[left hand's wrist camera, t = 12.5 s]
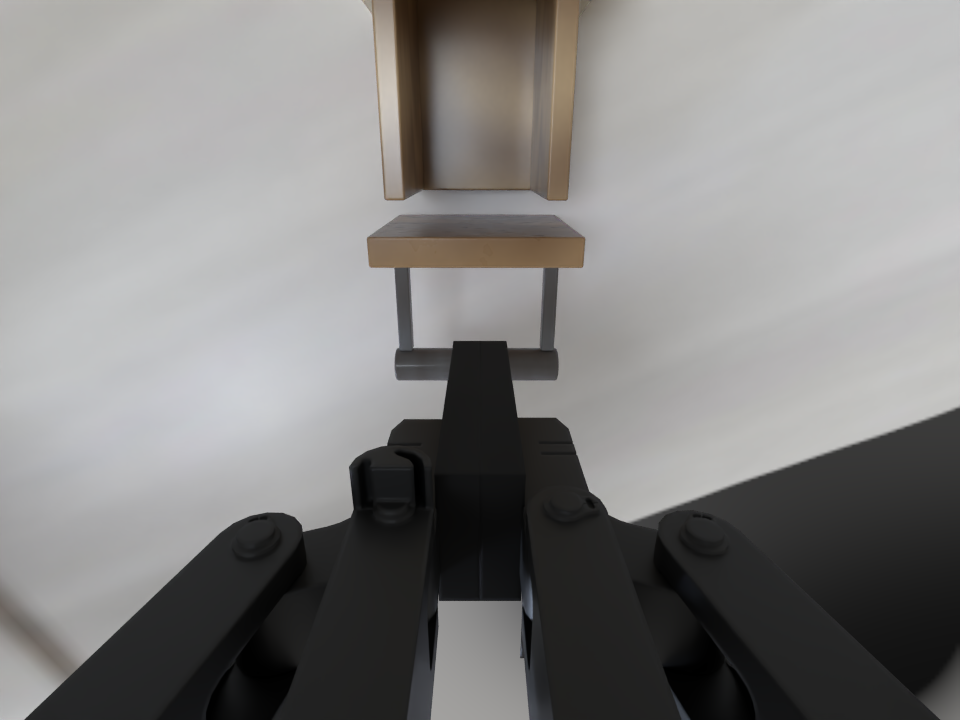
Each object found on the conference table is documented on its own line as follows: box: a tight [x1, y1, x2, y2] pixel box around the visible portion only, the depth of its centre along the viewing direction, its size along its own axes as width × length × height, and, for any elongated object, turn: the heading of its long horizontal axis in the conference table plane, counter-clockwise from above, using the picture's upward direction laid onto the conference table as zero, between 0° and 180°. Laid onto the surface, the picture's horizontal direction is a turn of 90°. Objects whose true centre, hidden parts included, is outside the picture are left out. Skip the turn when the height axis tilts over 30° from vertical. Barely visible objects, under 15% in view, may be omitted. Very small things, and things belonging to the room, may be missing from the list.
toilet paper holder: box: [367, 0, 585, 380], centre depth 22 cm, size 21×8×8 cm, turn 0°
